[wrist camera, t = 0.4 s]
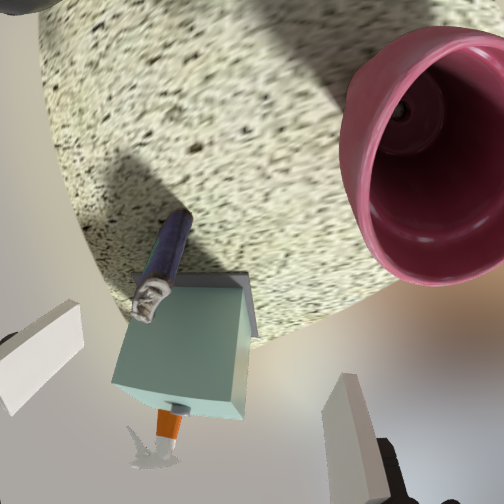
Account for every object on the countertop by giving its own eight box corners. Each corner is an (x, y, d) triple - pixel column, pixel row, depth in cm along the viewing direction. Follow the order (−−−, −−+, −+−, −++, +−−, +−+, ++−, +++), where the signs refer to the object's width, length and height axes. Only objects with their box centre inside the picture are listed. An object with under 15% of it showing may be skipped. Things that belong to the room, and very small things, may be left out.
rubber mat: (131, 272, 35) (130, 274, 34) (248, 272, 33) (248, 275, 32) (168, 330, 46) (168, 332, 45) (258, 335, 44) (258, 337, 44)
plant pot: (371, -10, 11) (479, -33, 2) (483, 101, 14) (579, 176, 5) (279, 124, 20) (285, 226, 11) (400, 201, 24) (451, 310, 15)
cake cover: (142, 285, 36) (108, 391, 25) (242, 287, 34) (229, 412, 23) (168, 326, 44) (148, 414, 33) (251, 330, 42) (243, 427, 31)
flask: (170, 264, 33) (145, 341, 25) (149, 255, 32) (119, 331, 24) (199, 214, 27) (170, 303, 19) (173, 202, 26) (134, 287, 19)
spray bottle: (152, 329, 46) (121, 466, 28) (205, 347, 50) (186, 480, 31) (145, 341, 51) (118, 461, 32) (193, 358, 54) (175, 474, 36)
